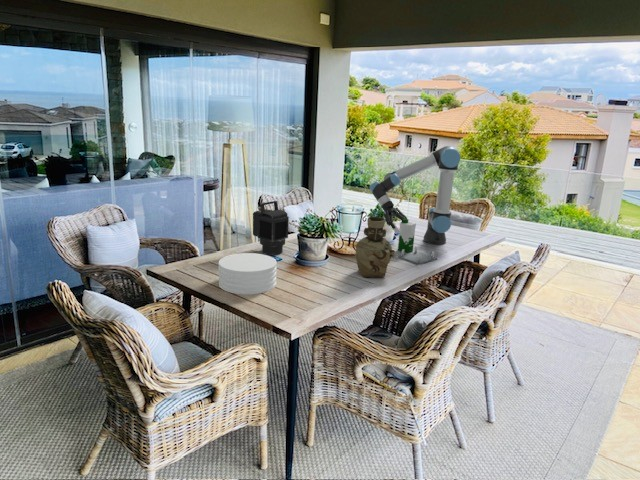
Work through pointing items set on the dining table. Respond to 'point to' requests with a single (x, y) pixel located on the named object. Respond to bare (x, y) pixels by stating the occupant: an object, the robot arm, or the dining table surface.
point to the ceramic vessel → (374, 250)
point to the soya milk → (406, 235)
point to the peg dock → (417, 257)
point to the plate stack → (247, 273)
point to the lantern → (271, 228)
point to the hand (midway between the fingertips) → (403, 230)
